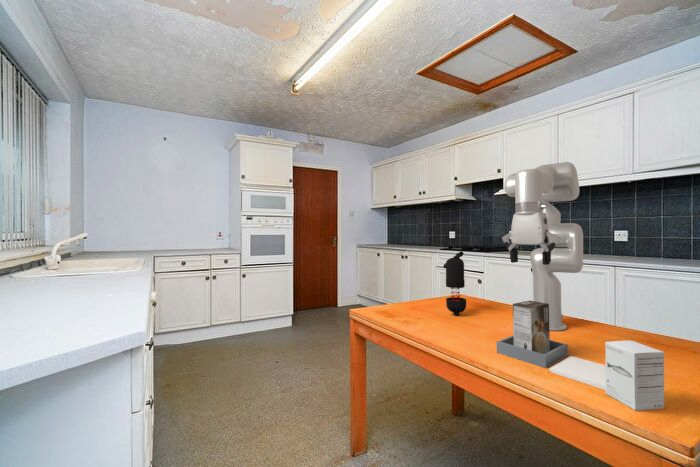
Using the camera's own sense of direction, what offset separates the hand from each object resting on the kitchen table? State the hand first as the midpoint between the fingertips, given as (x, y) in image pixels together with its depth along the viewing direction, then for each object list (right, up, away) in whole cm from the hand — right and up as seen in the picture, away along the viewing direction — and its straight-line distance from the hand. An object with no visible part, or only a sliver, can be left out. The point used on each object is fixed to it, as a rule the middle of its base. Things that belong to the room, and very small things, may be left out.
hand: (529, 263), depth 99 cm
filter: (-8, -29, +48) cm, 56 cm away
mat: (+8, -29, -14) cm, 33 cm away
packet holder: (+1, -29, 0) cm, 29 cm away
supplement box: (+8, -29, -28) cm, 41 cm away
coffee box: (+1, -29, 0) cm, 29 cm away
